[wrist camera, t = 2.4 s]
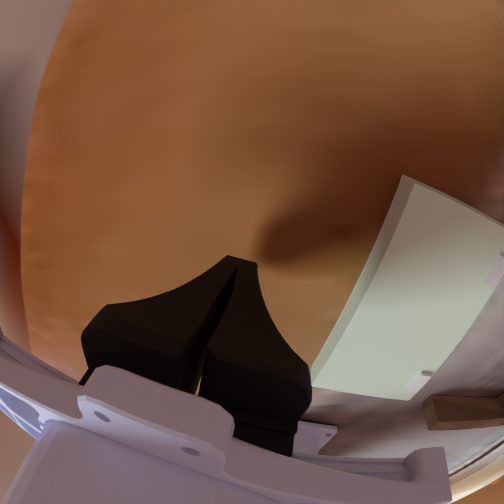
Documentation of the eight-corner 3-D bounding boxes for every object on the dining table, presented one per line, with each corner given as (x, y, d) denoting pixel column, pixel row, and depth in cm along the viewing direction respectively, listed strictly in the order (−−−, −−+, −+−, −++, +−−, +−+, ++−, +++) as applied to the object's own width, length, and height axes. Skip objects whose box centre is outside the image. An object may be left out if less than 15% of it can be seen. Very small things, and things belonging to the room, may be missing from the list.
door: (403, 378, 17) (409, 404, 15) (311, 360, 17) (310, 389, 15) (501, 222, 11) (524, 240, 9) (399, 171, 11) (417, 184, 9)
